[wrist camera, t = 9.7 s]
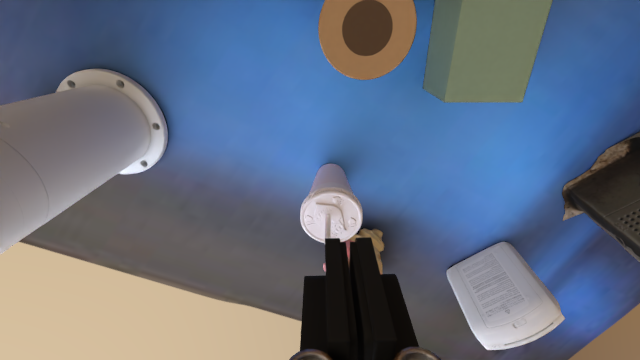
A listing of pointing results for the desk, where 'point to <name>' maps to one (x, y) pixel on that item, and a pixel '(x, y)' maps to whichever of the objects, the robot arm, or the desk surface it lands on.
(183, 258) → the desk surface
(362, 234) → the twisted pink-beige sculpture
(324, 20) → the paper roll
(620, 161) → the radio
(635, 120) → the desk surface
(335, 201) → the smoothie
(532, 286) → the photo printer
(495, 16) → the green block
